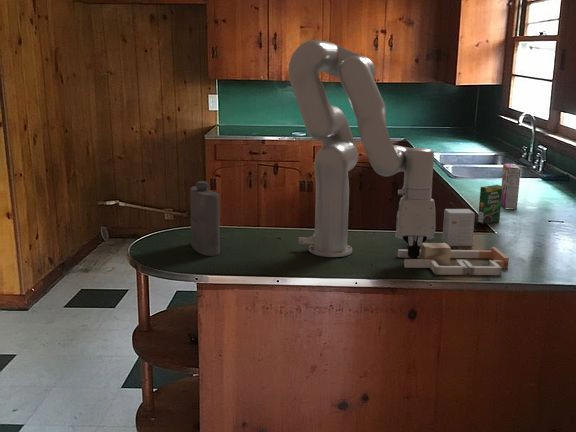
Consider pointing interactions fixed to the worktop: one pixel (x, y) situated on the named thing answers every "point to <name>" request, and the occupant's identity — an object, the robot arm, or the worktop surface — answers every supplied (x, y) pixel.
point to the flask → (204, 219)
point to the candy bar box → (510, 185)
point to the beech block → (436, 252)
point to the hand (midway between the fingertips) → (413, 258)
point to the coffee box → (490, 204)
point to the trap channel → (462, 262)
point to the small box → (458, 227)
